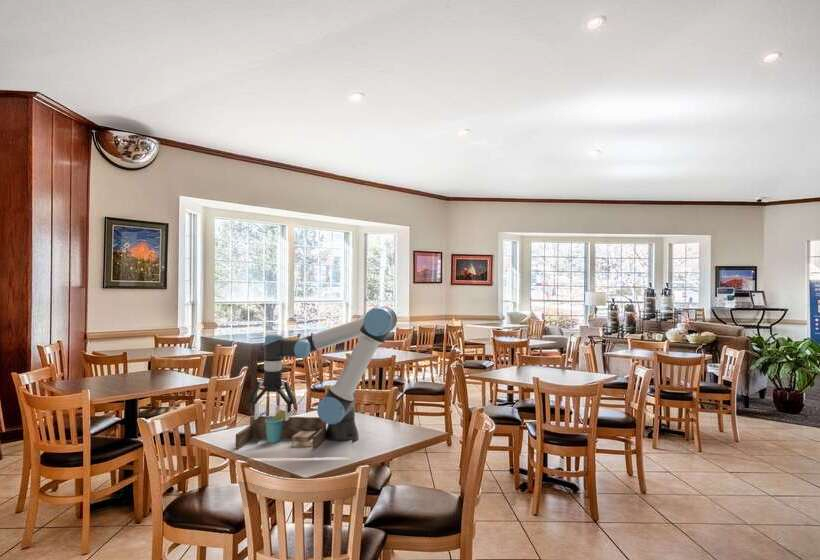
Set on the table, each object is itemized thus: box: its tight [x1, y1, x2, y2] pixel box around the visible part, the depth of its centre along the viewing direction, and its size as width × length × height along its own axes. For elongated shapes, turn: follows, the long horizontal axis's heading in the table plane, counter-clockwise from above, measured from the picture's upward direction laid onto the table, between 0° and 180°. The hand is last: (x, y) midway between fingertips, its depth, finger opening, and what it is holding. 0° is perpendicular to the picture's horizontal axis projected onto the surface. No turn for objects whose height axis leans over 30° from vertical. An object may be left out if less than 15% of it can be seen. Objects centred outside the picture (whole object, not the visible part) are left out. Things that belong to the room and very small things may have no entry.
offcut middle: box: [293, 439, 313, 447], centre depth 234 cm, size 8×11×2 cm
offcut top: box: [291, 430, 316, 442], centre depth 233 cm, size 7×10×2 cm
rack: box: [235, 415, 327, 450], centre depth 235 cm, size 34×18×10 cm, turn 85°
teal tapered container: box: [259, 409, 285, 444], centre depth 235 cm, size 14×8×15 cm, turn 148°
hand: (271, 419), depth 235 cm, fingers open, 13 cm apart
